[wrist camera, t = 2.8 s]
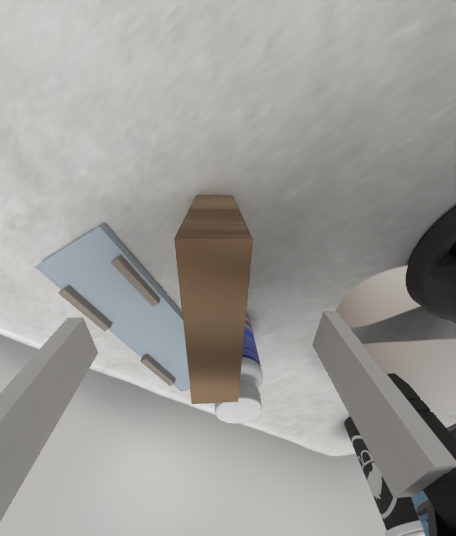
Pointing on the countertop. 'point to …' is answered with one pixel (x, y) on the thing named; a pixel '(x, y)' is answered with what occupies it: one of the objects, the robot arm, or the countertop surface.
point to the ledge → (122, 301)
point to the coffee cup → (385, 492)
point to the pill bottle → (245, 385)
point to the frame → (214, 295)
